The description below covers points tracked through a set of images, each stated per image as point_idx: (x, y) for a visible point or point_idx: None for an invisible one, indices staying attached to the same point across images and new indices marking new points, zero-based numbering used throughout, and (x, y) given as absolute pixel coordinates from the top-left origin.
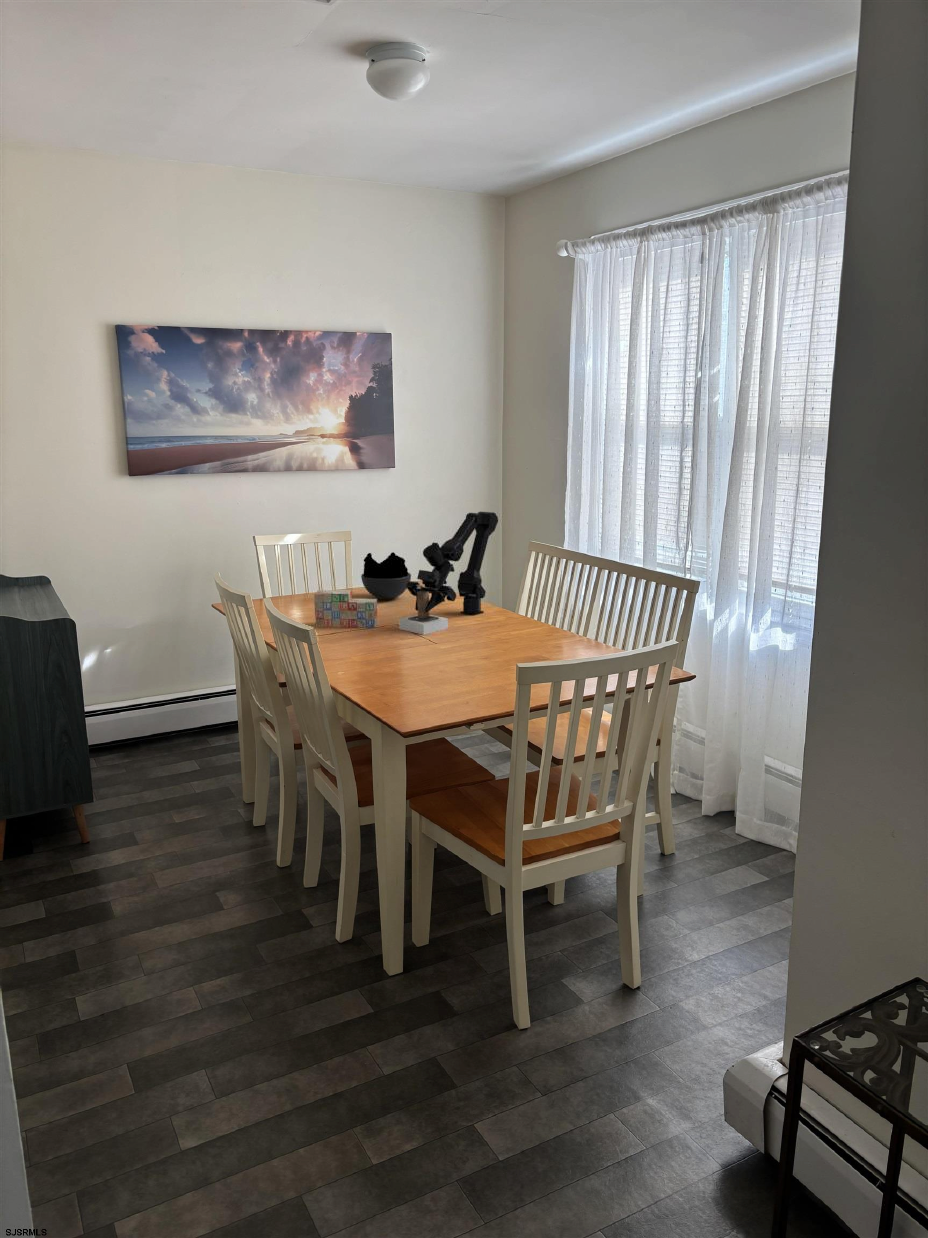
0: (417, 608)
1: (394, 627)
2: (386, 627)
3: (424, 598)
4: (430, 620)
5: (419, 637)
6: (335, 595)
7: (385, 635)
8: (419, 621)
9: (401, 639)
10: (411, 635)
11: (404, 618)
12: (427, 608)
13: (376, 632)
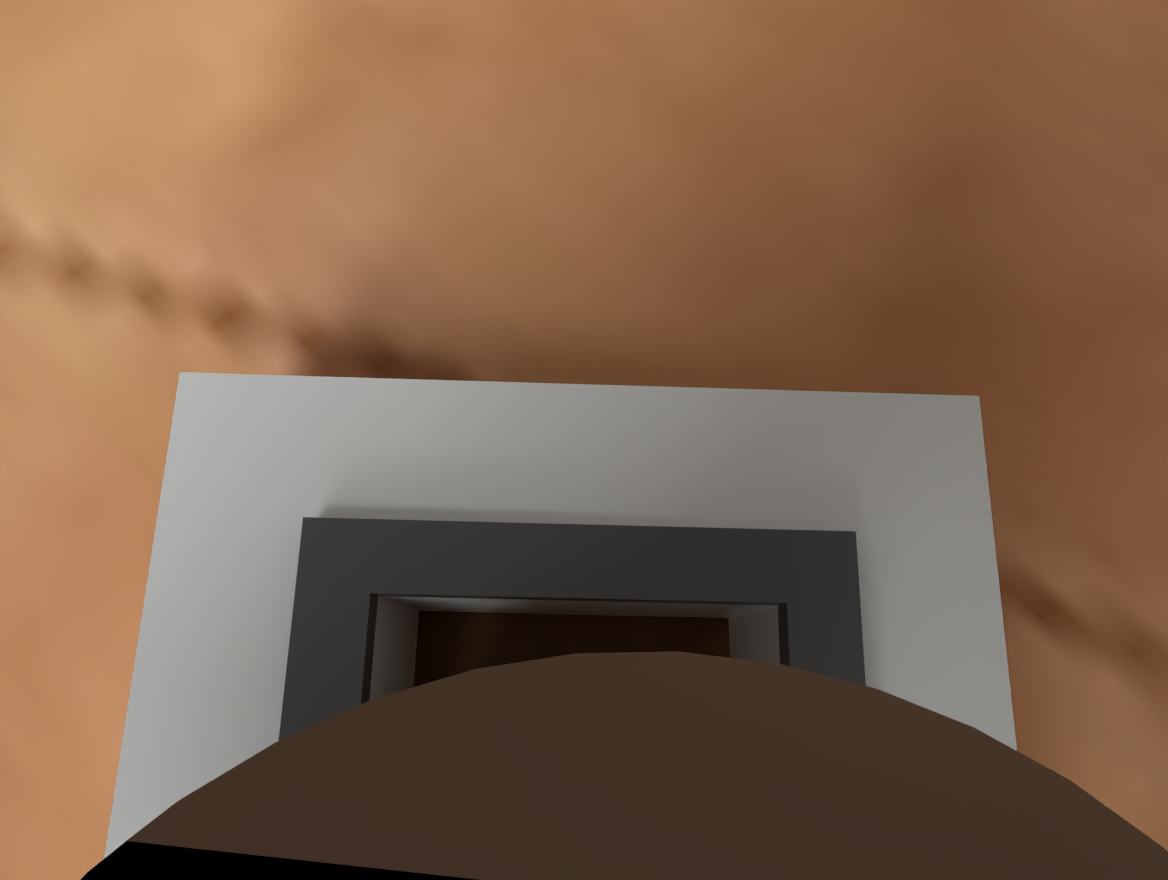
0: None
1: (1051, 486)
2: (1144, 396)
3: (231, 865)
4: None
5: (202, 258)
6: None
7: (722, 37)
8: (452, 527)
9: (358, 17)
10: (401, 270)
11: (958, 530)
12: None
13: (968, 78)
